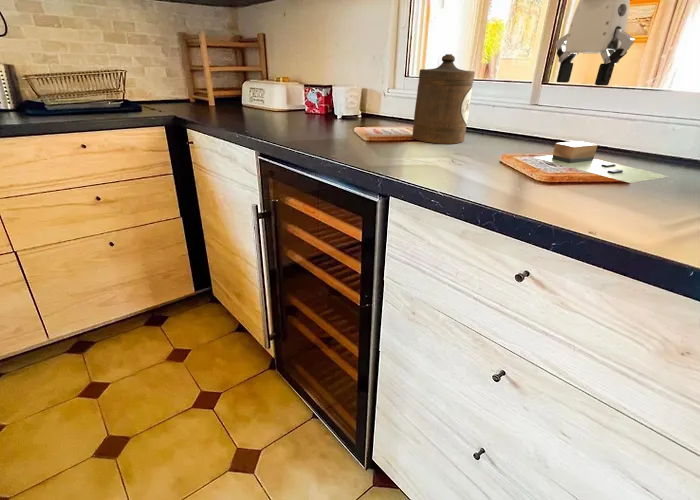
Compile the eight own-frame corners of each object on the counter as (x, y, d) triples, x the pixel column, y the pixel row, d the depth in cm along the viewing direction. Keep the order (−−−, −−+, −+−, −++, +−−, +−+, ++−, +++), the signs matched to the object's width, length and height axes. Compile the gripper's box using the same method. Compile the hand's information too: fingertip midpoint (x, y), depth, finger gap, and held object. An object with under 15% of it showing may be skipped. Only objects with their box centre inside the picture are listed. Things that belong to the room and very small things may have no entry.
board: (667, 182, 78) (669, 176, 78) (627, 189, 73) (630, 182, 73) (569, 158, 96) (570, 153, 96) (531, 162, 91) (532, 157, 90)
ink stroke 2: (622, 172, 80) (623, 170, 79) (613, 173, 78) (613, 171, 78) (616, 171, 81) (617, 169, 80) (607, 172, 79) (607, 170, 79)
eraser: (593, 160, 89) (597, 144, 87) (569, 163, 86) (573, 147, 84) (575, 156, 93) (579, 140, 91) (551, 158, 89) (555, 143, 88)
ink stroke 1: (615, 166, 84) (615, 164, 84) (606, 167, 83) (606, 165, 83) (609, 164, 85) (610, 163, 85) (600, 166, 84) (601, 164, 84)
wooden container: (473, 144, 109) (487, 55, 100) (421, 144, 107) (431, 53, 97) (452, 134, 122) (463, 55, 113) (405, 134, 120) (413, 53, 110)
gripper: (663, -16, 72) (631, 86, 79) (581, -4, 86) (561, 81, 94) (635, -20, 69) (605, 86, 77) (555, -7, 83) (536, 81, 91)
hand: (581, 83), depth 85 cm, fingers open, 9 cm apart
